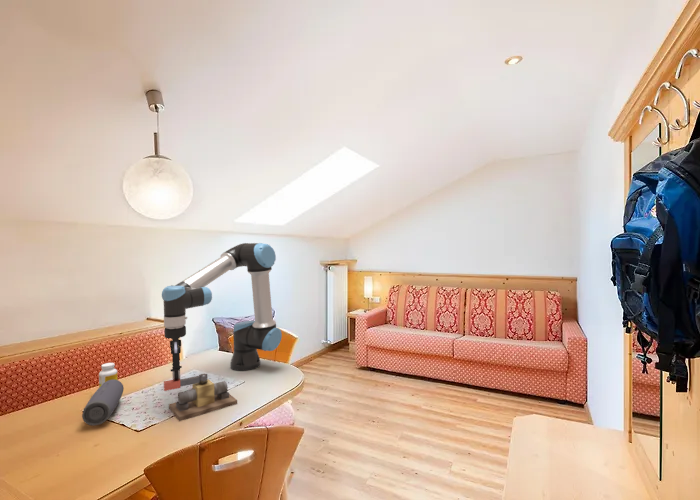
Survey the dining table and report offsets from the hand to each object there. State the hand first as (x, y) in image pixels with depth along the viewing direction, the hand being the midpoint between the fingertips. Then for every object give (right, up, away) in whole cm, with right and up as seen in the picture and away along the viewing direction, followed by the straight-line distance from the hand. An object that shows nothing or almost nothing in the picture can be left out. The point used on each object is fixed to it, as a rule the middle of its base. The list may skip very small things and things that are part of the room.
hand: (176, 386), depth 144 cm
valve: (+9, -9, +4) cm, 13 cm away
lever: (+4, 0, 0) cm, 4 cm away
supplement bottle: (-36, -9, +15) cm, 40 cm away
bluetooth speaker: (-26, -10, -4) cm, 28 cm away
